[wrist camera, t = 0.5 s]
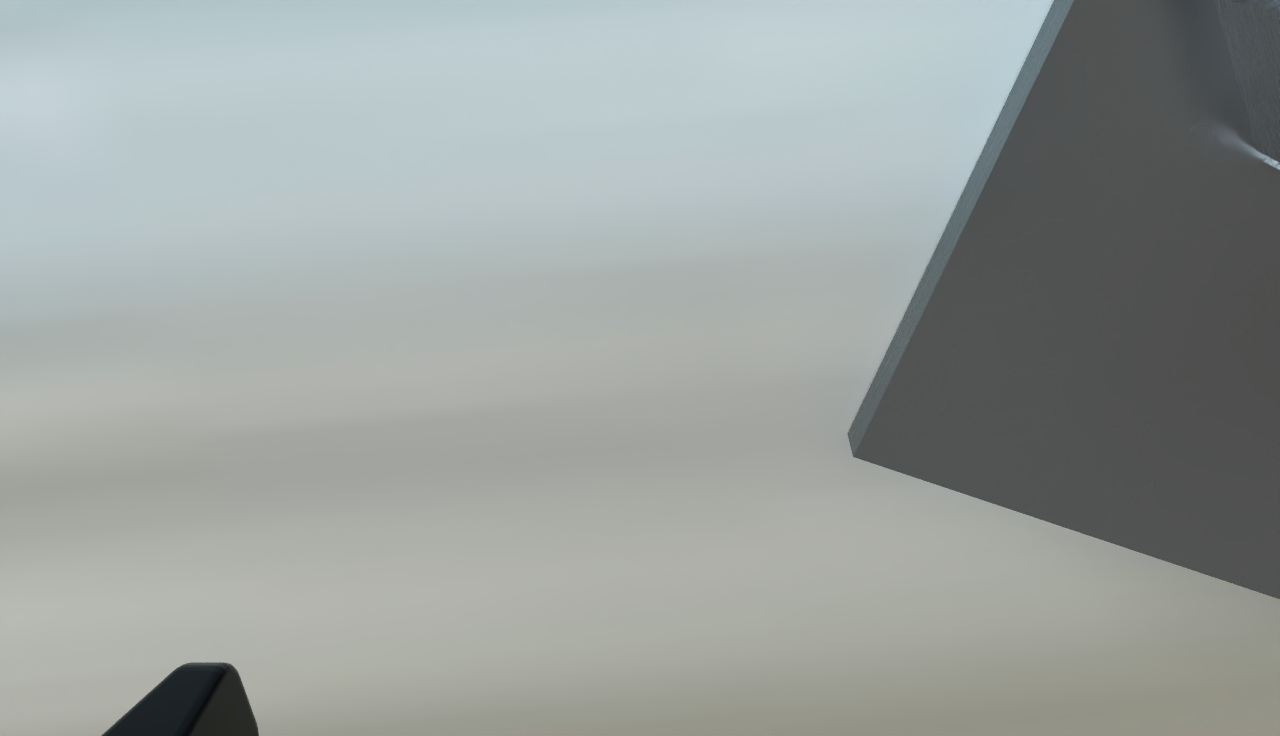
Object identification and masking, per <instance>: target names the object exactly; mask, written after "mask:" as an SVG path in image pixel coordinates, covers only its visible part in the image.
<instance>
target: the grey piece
mask: <svg viewBox="0 0 1280 736" xmlns="http://www.w3.org/2000/svg"><path fill="white" fill-rule="evenodd" d="M848 438H849V442H850V446H851V450H852V454H853V457H856V458H859V459H862V460H865V461H868V462H871V463H873V464H876V465H879V466H882V467H885V468H888V469H891V470H894V471H897V472H900V473H903V474H906V475H909V476H912V477H915V478H918V479H921V480H924V481H927V482H930V483H933V484H936V485H939V486H942V487H945V488H948V489H951V490H954V491H957V492H960V493H963V494H966V495H969V496H972V497H975V498H978V499H981V500H984V501H987V502H990V503H993V504H996V505H999V506H1002V507H1005V508H1008V509H1011V510H1014V511H1017V512H1020V513H1023V514H1026V515H1029V516H1032V517H1035V518H1038V519H1041V520H1044V521H1047V522H1050V523H1053V524H1056V525H1059V526H1062V527H1065V528H1068V529H1071V530H1074V531H1077V532H1080V533H1083V534H1086V535H1089V536H1092V537H1095V538H1098V539H1101V540H1104V541H1107V542H1110V543H1113V544H1116V545H1119V546H1122V547H1125V548H1128V549H1131V550H1134V551H1137V552H1140V553H1143V554H1146V555H1149V556H1152V557H1155V558H1158V559H1161V560H1164V561H1167V562H1170V563H1173V564H1176V565H1179V566H1182V567H1185V568H1188V569H1191V570H1194V571H1197V572H1200V573H1203V574H1206V575H1209V576H1212V577H1215V578H1218V579H1221V580H1224V581H1227V582H1230V583H1233V584H1236V585H1239V586H1242V587H1245V588H1248V589H1251V590H1254V591H1257V592H1260V593H1263V594H1266V595H1269V596H1272V597H1275V598H1278V599H1280V0H1054V2H1053V4H1052V6H1051V8H1050V10H1049V12H1048V15H1047V17H1046V19H1045V21H1044V23H1043V25H1042V27H1041V29H1040V31H1039V33H1038V36H1037V38H1036V40H1035V42H1034V44H1033V46H1032V48H1031V50H1030V52H1029V54H1028V57H1027V59H1026V61H1025V63H1024V65H1023V67H1022V69H1021V71H1020V73H1019V75H1018V78H1017V80H1016V82H1015V84H1014V86H1013V88H1012V90H1011V92H1010V94H1009V96H1008V98H1007V101H1006V103H1005V105H1004V107H1003V109H1002V111H1001V113H1000V115H999V117H998V119H997V122H996V124H995V126H994V128H993V130H992V132H991V134H990V136H989V138H988V140H987V143H986V145H985V147H984V149H983V151H982V153H981V155H980V157H979V159H978V161H977V164H976V166H975V168H974V170H973V172H972V174H971V176H970V178H969V180H968V182H967V185H966V187H965V189H964V191H963V193H962V195H961V197H960V199H959V201H958V203H957V206H956V208H955V210H954V212H953V214H952V216H951V218H950V220H949V222H948V224H947V227H946V229H945V231H944V233H943V235H942V237H941V239H940V241H939V243H938V245H937V248H936V250H935V252H934V254H933V256H932V258H931V260H930V262H929V264H928V266H927V268H926V271H925V273H924V275H923V277H922V279H921V281H920V283H919V285H918V287H917V289H916V292H915V294H914V296H913V298H912V300H911V302H910V304H909V306H908V308H907V310H906V313H905V315H904V317H903V319H902V321H901V323H900V325H899V327H898V329H897V331H896V334H895V336H894V338H893V340H892V342H891V344H890V346H889V348H888V350H887V352H886V355H885V357H884V359H883V361H882V363H881V365H880V367H879V369H878V371H877V373H876V376H875V378H874V380H873V382H872V384H871V386H870V388H869V390H868V392H867V394H866V397H865V399H864V401H863V403H862V405H861V407H860V409H859V411H858V413H857V415H856V417H855V420H854V422H853V424H852V426H851V428H850V430H849V432H848Z"/></svg>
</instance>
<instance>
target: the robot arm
mask: <svg viewBox="0 0 1280 736" xmlns="http://www.w3.org/2000/svg"><path fill="white" fill-rule="evenodd" d="M102 736H259V734H258V727H257V723H256V720H255V717H254V715H253V712H252V709H251V706H250V703H249V701H248V698H247V695H246V692H245V689H244V687H243V684H242V681H241V678H240V676H239V674H238V672H237V670H236V669H235V668H234V667H233V666H232V665H231V664H228V663H187V664H184V665H182V666H180V667H178V668H177V669H175V670H174V671H173V672H172V673H171V674H169V675H168V676H167V677H166V678H165V679H164V680H163V681H162V682H161V683H159V684H158V685H157V686H156V687H155V688H154V689H153V690H152V691H151V692H149V693H148V694H147V695H146V696H145V697H144V698H143V699H142V700H141V701H139V702H138V703H137V704H136V705H135V706H134V707H133V708H132V709H131V710H129V711H128V712H127V713H126V714H125V715H124V716H123V717H122V718H121V719H119V720H118V721H117V722H116V723H115V724H114V725H113V726H112V727H111V728H109V729H108V730H107V731H106V732H105V733H104V734H103V735H102Z"/></svg>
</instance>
